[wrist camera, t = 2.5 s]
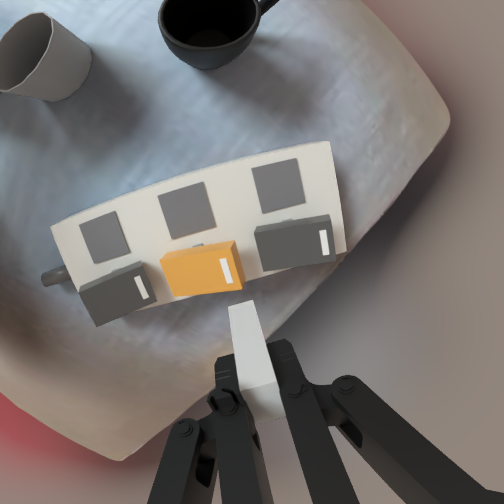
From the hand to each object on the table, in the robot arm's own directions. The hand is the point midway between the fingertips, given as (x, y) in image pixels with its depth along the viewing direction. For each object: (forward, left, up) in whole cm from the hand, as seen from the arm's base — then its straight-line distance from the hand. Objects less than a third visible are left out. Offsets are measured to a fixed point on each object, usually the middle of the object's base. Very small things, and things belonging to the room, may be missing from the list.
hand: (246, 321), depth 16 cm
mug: (+5, +22, -17) cm, 28 cm away
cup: (-14, +26, -17) cm, 34 cm away
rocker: (+6, 0, -10) cm, 12 cm away
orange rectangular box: (-3, 0, -10) cm, 10 cm away
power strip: (-6, +2, -17) cm, 18 cm away
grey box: (-12, 0, -10) cm, 15 cm away
